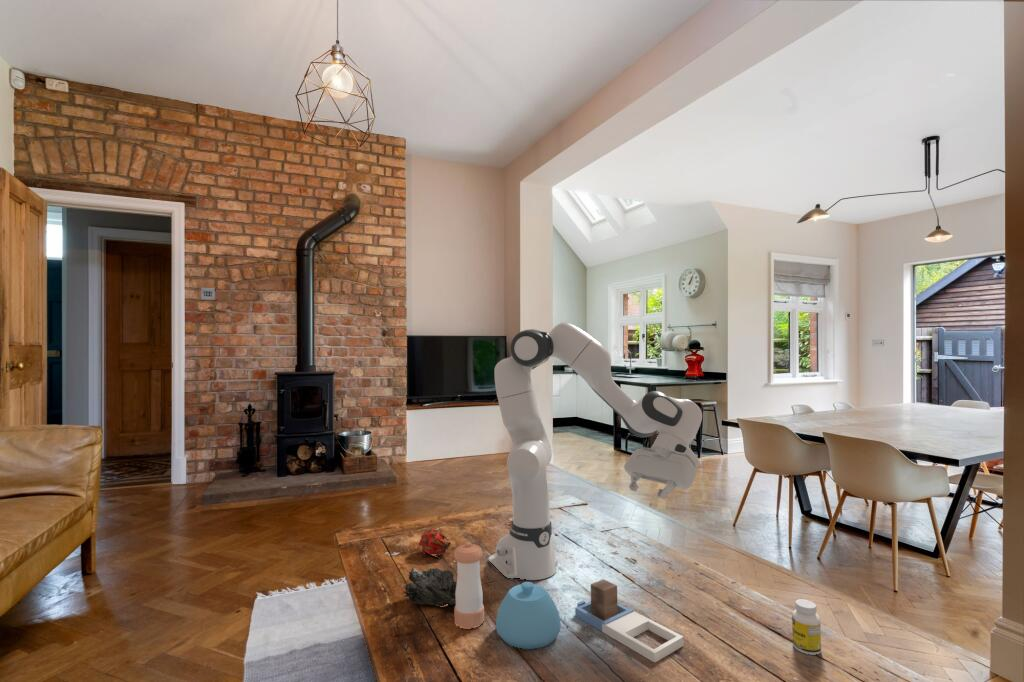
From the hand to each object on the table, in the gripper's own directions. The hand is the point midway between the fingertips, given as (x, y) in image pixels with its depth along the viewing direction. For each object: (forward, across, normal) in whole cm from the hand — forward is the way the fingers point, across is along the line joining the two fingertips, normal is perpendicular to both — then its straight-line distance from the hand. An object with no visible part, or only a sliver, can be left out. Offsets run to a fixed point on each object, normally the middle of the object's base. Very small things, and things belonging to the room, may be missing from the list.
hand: (645, 493), depth 137 cm
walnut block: (+31, 0, +8) cm, 32 cm away
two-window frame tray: (+31, +7, +8) cm, 33 cm away
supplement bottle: (+14, +36, +26) cm, 46 cm away
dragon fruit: (+41, -61, -2) cm, 74 cm away
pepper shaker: (+50, -19, -11) cm, 55 cm away
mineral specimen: (+52, -33, -13) cm, 63 cm away
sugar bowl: (+45, -6, -5) cm, 45 cm away
